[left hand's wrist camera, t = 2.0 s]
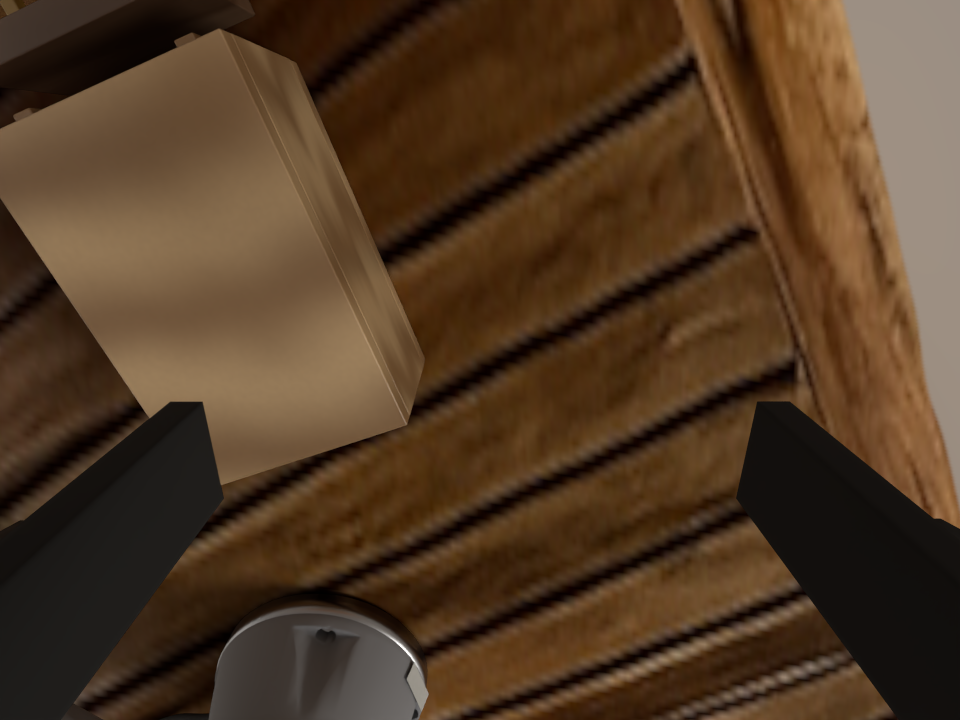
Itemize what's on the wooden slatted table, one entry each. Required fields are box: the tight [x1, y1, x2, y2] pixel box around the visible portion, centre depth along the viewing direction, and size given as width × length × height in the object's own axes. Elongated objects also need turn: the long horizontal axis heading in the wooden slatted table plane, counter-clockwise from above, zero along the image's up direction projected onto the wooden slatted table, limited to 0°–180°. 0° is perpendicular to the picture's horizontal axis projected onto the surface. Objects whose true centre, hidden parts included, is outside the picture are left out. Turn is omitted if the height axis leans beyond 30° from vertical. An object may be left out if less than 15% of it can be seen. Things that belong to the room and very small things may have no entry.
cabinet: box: [0, 28, 425, 485], centre depth 25 cm, size 16×11×8 cm, turn 20°
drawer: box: [0, 0, 255, 121], centre depth 23 cm, size 21×10×6 cm, turn 20°
